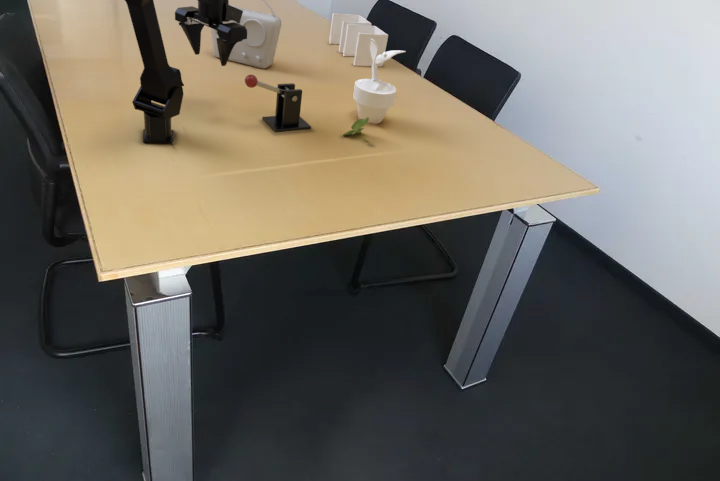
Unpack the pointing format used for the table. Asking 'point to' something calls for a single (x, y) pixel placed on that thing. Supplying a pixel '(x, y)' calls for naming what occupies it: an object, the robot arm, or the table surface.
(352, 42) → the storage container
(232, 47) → the robot arm
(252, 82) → the red knob lever
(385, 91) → the potted plant
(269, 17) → the radio
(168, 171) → the table surface
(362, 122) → the seedling
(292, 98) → the lever base
